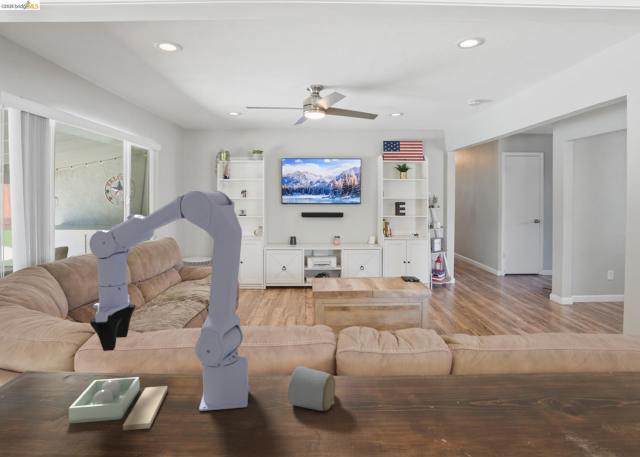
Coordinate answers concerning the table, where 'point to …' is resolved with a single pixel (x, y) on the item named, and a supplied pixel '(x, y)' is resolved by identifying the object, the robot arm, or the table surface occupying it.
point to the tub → (88, 412)
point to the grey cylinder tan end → (311, 389)
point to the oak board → (145, 408)
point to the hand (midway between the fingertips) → (115, 343)
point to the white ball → (111, 386)
